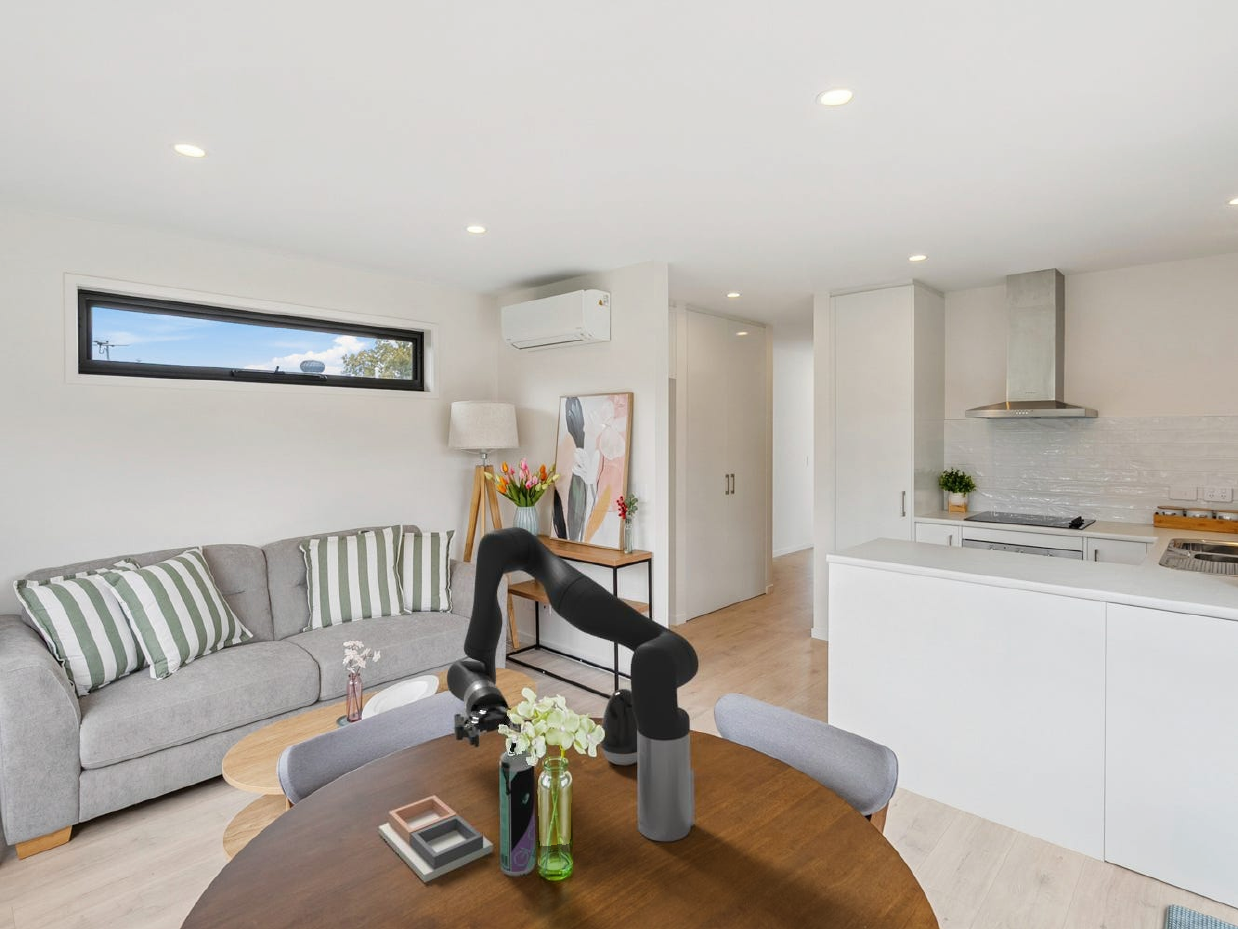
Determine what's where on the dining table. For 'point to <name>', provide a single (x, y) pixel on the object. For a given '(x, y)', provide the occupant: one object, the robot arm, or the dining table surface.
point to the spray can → (517, 813)
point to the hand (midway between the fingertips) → (501, 738)
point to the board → (433, 838)
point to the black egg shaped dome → (620, 729)
